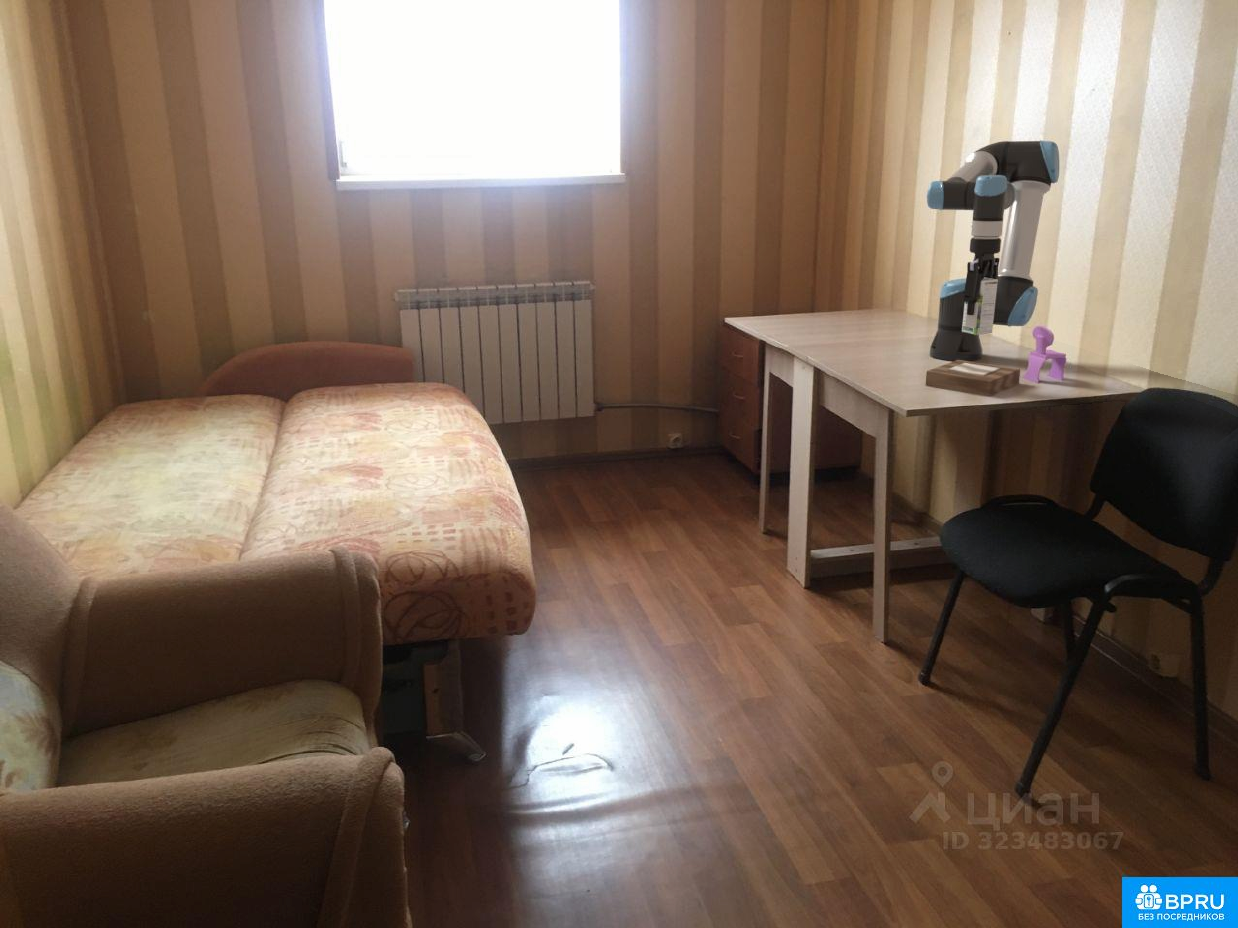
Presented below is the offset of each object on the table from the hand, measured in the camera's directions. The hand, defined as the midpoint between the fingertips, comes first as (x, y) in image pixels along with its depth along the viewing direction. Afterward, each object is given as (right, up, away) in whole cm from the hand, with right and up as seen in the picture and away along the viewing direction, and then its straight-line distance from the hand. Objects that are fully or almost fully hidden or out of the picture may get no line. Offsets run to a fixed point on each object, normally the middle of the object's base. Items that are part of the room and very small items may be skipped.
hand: (977, 324), depth 270 cm
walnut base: (0, -15, +5) cm, 16 cm away
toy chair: (+22, -14, +9) cm, 27 cm away
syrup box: (0, -2, +1) cm, 2 cm away
